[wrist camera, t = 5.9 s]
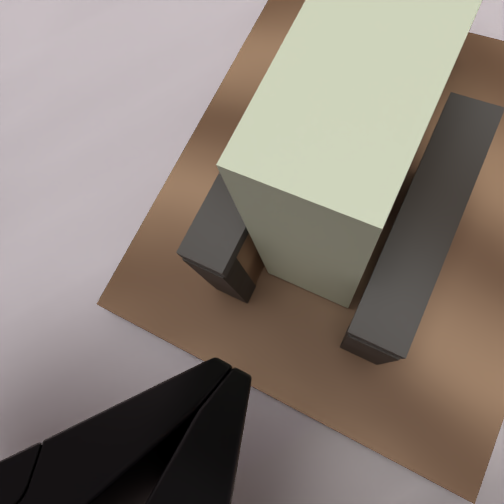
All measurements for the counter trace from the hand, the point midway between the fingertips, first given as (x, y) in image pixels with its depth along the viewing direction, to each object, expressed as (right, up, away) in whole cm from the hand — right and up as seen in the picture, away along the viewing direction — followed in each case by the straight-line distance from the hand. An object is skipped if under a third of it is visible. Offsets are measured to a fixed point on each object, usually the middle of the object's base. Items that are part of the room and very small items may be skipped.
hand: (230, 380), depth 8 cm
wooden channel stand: (+4, +5, +8) cm, 10 cm away
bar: (+5, +6, +7) cm, 11 cm away
